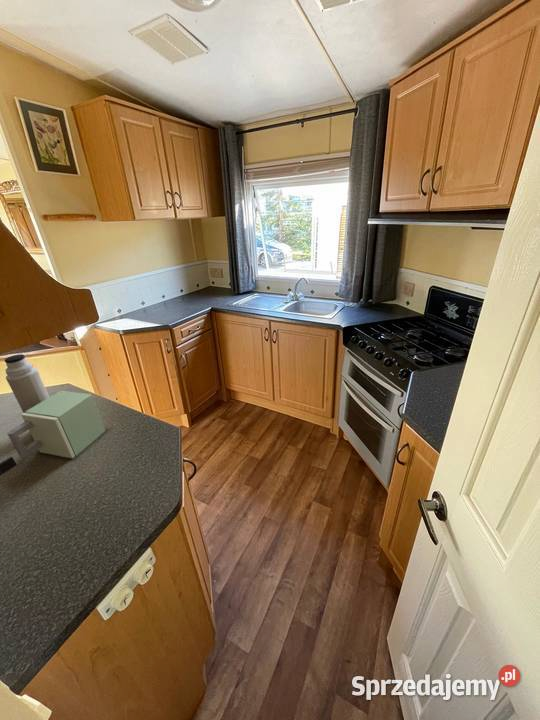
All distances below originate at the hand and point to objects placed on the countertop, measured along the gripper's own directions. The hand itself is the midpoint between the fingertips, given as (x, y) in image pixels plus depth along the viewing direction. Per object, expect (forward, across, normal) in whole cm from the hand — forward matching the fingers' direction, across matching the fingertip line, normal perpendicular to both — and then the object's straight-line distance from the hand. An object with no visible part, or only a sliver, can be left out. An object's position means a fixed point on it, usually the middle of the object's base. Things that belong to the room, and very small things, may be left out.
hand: (0, 453), depth 79 cm
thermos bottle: (+17, -13, -9) cm, 23 cm away
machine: (+17, +2, -8) cm, 19 cm away
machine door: (+7, +4, -8) cm, 12 cm away
